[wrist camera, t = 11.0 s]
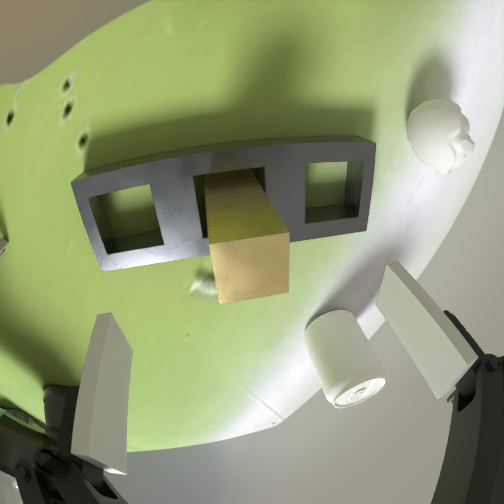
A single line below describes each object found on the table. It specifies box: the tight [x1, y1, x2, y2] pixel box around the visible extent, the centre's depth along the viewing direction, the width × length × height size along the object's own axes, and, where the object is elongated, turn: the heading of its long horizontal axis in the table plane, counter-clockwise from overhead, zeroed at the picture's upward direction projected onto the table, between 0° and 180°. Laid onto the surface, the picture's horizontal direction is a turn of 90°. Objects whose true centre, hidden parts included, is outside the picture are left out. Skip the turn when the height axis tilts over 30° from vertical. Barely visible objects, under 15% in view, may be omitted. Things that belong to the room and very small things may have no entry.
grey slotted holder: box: [71, 136, 376, 272], centre depth 23 cm, size 9×26×3 cm, turn 94°
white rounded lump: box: [407, 99, 474, 175], centre depth 20 cm, size 8×8×8 cm
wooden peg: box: [204, 168, 290, 304], centre depth 19 cm, size 4×4×12 cm
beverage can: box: [303, 310, 385, 408], centre depth 33 cm, size 8×8×12 cm
